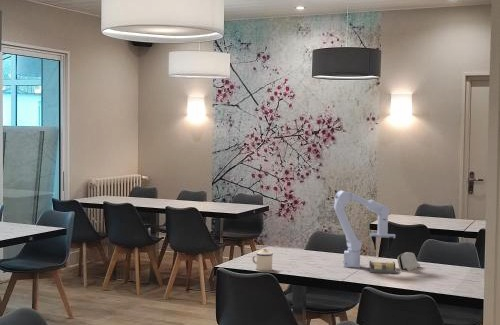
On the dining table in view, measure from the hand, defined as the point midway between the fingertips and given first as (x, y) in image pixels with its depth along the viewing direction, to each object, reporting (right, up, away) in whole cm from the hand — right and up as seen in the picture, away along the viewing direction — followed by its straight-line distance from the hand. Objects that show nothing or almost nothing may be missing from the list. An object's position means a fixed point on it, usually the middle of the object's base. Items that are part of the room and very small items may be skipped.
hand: (381, 249), depth 388 cm
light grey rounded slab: (+14, -10, -3) cm, 18 cm away
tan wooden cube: (+2, -7, -13) cm, 15 cm away
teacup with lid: (-70, -9, -16) cm, 72 cm away
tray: (-3, -10, -17) cm, 19 cm away
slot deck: (-1, -10, -7) cm, 12 cm away
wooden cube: (-5, -7, -17) cm, 19 cm away
